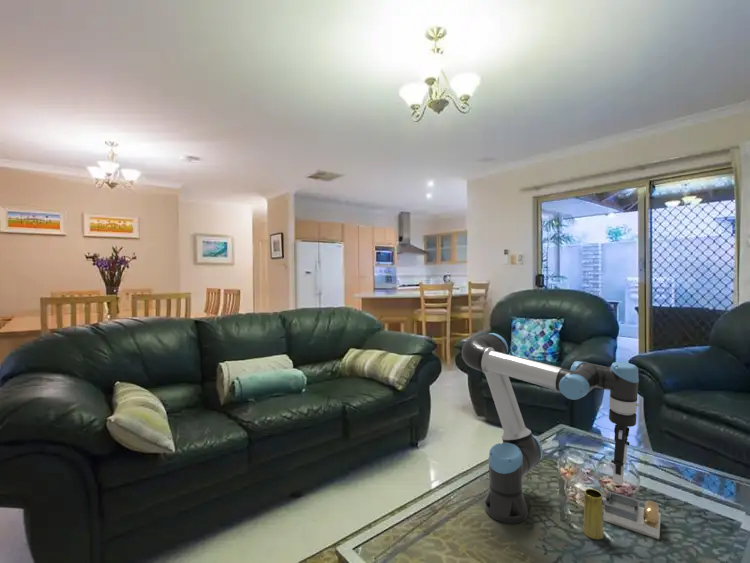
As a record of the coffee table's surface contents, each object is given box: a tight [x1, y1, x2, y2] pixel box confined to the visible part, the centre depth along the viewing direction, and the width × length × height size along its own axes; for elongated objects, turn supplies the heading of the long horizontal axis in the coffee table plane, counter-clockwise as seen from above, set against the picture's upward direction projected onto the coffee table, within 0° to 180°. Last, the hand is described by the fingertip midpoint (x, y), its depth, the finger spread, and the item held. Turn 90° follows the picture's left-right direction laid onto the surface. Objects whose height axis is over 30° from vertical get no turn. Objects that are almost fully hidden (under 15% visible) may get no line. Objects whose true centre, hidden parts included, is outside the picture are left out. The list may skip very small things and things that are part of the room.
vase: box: [582, 488, 604, 540], centre depth 133 cm, size 6×6×14 cm
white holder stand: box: [603, 490, 662, 540], centre depth 138 cm, size 16×10×8 cm, turn 52°
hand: (619, 472), depth 130 cm, fingers open, 13 cm apart
